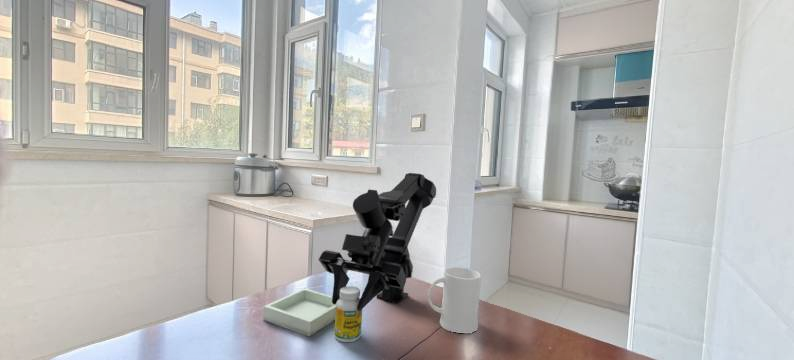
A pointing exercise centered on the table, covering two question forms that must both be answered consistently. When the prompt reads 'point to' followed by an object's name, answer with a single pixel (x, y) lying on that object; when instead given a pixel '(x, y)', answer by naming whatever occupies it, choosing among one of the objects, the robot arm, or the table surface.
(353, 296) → the supplement bottle
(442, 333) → the table surface
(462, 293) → the mug
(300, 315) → the tray
